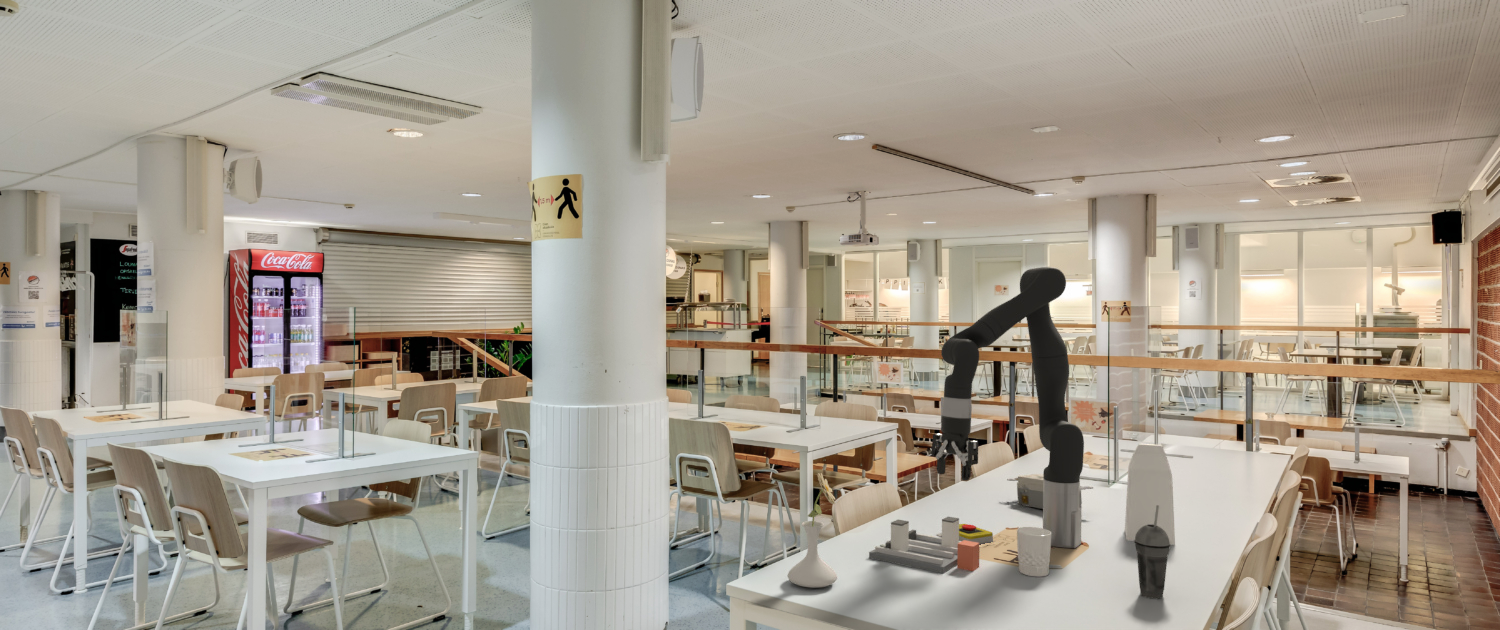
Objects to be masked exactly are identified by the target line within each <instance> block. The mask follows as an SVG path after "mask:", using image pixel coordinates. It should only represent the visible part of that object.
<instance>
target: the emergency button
mask: <svg viewBox="0 0 1500 630" xmlns="http://www.w3.org/2000/svg"><path fill="white" fill-rule="evenodd" d="M939 536H940V537H939ZM936 537H939V538H942V532H940V533H936ZM963 540H966V541H971V542H977V543H979V545H981V544H985V543H991V542H994V535H993V532H992V531H989V530H986V529H983V528H980V527H977V526H976V525H973V524H968V523H959V541H963Z"/></svg>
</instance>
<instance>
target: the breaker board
mask: <svg viewBox="0 0 1500 630" xmlns="http://www.w3.org/2000/svg"><path fill="white" fill-rule="evenodd" d="M960 542H961V541H959V543H960ZM957 556H958V547H957V548H953V547H948V546H942V537H939V536H933V535H928V534H921V533H918V532H917V529H911V530H909V544H908V551H906V552H904V551H899V550H894V549H891V539H890V540H887V541H886V542H885V543H884V544H880V545H879V546H875V547H874V549H873V550H871V551H869V552H868V557H869V559H873V560H878V561H883V562H886V563H891V564H896V565H902V566H906V567H911V568H916V569H921V570H924V571H925V570H927V571H931V572H936V573H941V574H945V573H947V572H948V571H950V570H951V569H953V568H954V567H957Z"/></svg>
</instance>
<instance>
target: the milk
mask: <svg viewBox="0 0 1500 630" xmlns="http://www.w3.org/2000/svg"><path fill="white" fill-rule="evenodd" d="M1126 486H1127V487H1126V501H1125V502H1126V503H1125V504H1126V505H1125V517H1124V518H1125V519H1124V521H1125V522H1124V535H1125V538H1126V541H1131V542H1134V540H1135V536H1136V533H1137V531H1138V530H1139V529H1140V528H1141V527H1143V526H1145V525H1154V521H1155V513H1156V505H1159V509H1158V518H1157V526H1159V527H1160V528H1162V529H1163V530H1164V531H1165V532H1166V534H1167V535H1168V538H1169V542H1170V546H1173V545H1174V546H1175V545H1176V536H1175V532H1176V531H1175V530H1176V529H1175V511H1174V509H1175V507H1174V490H1173V489H1174V488H1173V487H1174V486H1173V473H1172V470H1171V467H1170V464H1169V460H1168V456H1167V454H1166V452H1165V450H1164V447H1163V445H1162V444H1153V443H1152V444H1151V443H1149V444H1148V443H1138V444H1137V446H1136V448H1135V449H1134V452H1133V453H1132V456H1131V459H1130V461H1129V464H1128V467H1127V485H1126Z"/></svg>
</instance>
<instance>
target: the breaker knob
mask: <svg viewBox="0 0 1500 630" xmlns="http://www.w3.org/2000/svg"><path fill="white" fill-rule="evenodd" d="M909 526H910V523H909V521H908V520H903V519H896V520H893V521H891V522H890V540H891V549H894V550H899V551H904V552H906V551H908V544H909V531H910V529H909Z"/></svg>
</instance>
